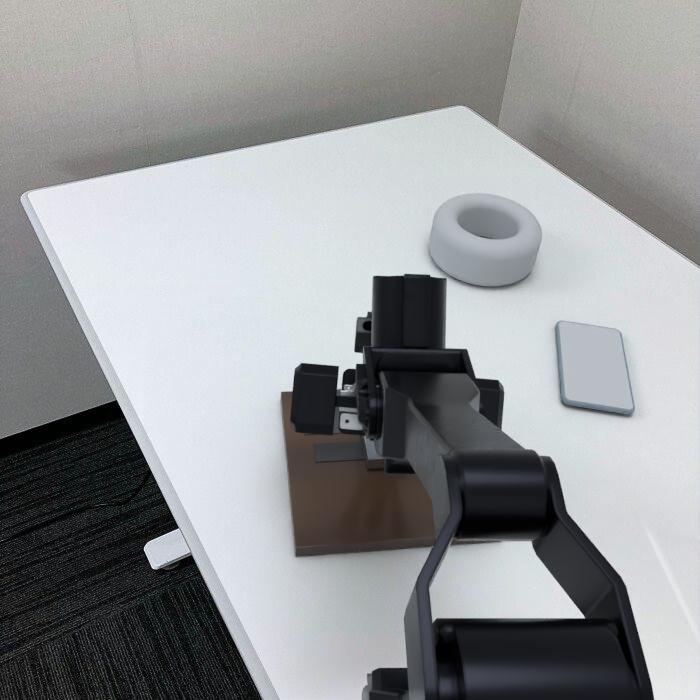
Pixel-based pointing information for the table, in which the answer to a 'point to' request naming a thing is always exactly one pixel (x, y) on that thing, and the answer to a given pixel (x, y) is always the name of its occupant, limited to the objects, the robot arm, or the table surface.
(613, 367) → the smartphone
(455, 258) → the donut shape
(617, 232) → the table surface
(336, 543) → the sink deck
